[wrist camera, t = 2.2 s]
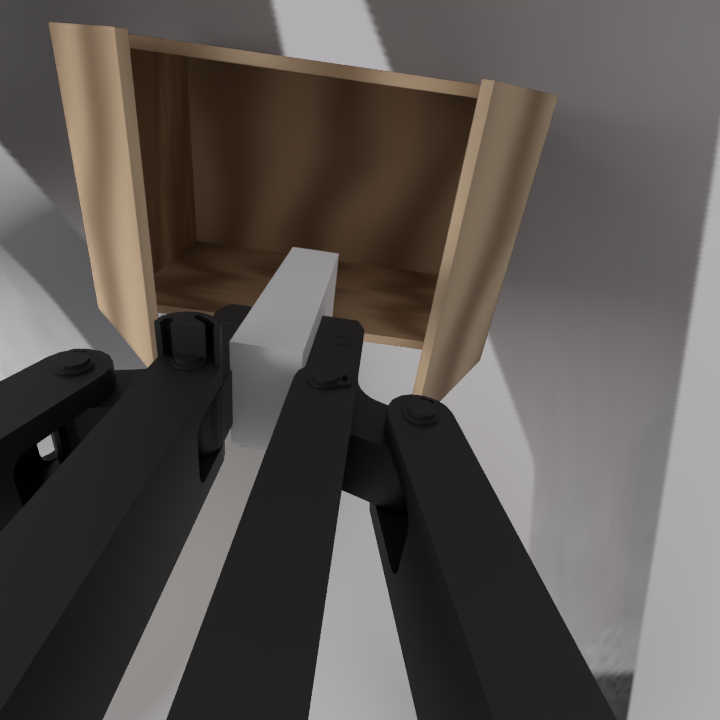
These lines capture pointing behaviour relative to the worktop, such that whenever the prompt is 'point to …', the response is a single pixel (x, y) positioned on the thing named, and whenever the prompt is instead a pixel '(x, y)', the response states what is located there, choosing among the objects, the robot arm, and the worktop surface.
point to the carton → (297, 178)
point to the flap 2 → (482, 229)
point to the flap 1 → (109, 174)
